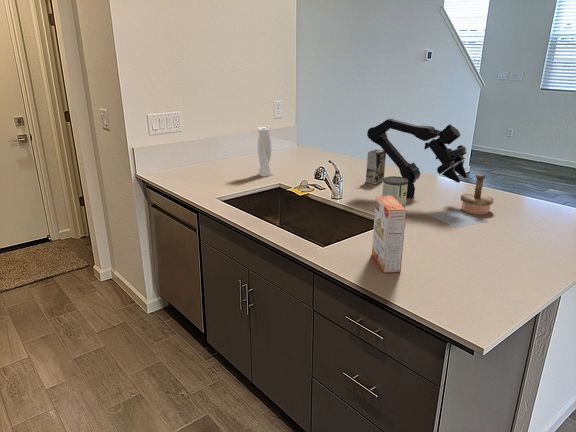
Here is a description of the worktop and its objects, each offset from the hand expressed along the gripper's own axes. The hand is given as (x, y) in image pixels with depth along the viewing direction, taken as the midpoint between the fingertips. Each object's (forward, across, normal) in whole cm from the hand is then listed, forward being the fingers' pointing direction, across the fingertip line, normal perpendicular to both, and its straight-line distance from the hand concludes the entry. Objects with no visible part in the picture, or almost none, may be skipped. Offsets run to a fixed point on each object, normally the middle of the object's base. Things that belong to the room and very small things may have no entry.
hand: (462, 179), depth 193 cm
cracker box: (+9, -71, +9) cm, 72 cm away
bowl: (+14, 0, +4) cm, 14 cm away
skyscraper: (-62, -12, +81) cm, 103 cm away
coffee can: (-5, -23, +24) cm, 33 cm away
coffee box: (-25, +14, +43) cm, 52 cm away
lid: (+10, 0, +1) cm, 11 cm away
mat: (+12, -16, +6) cm, 20 cm away
